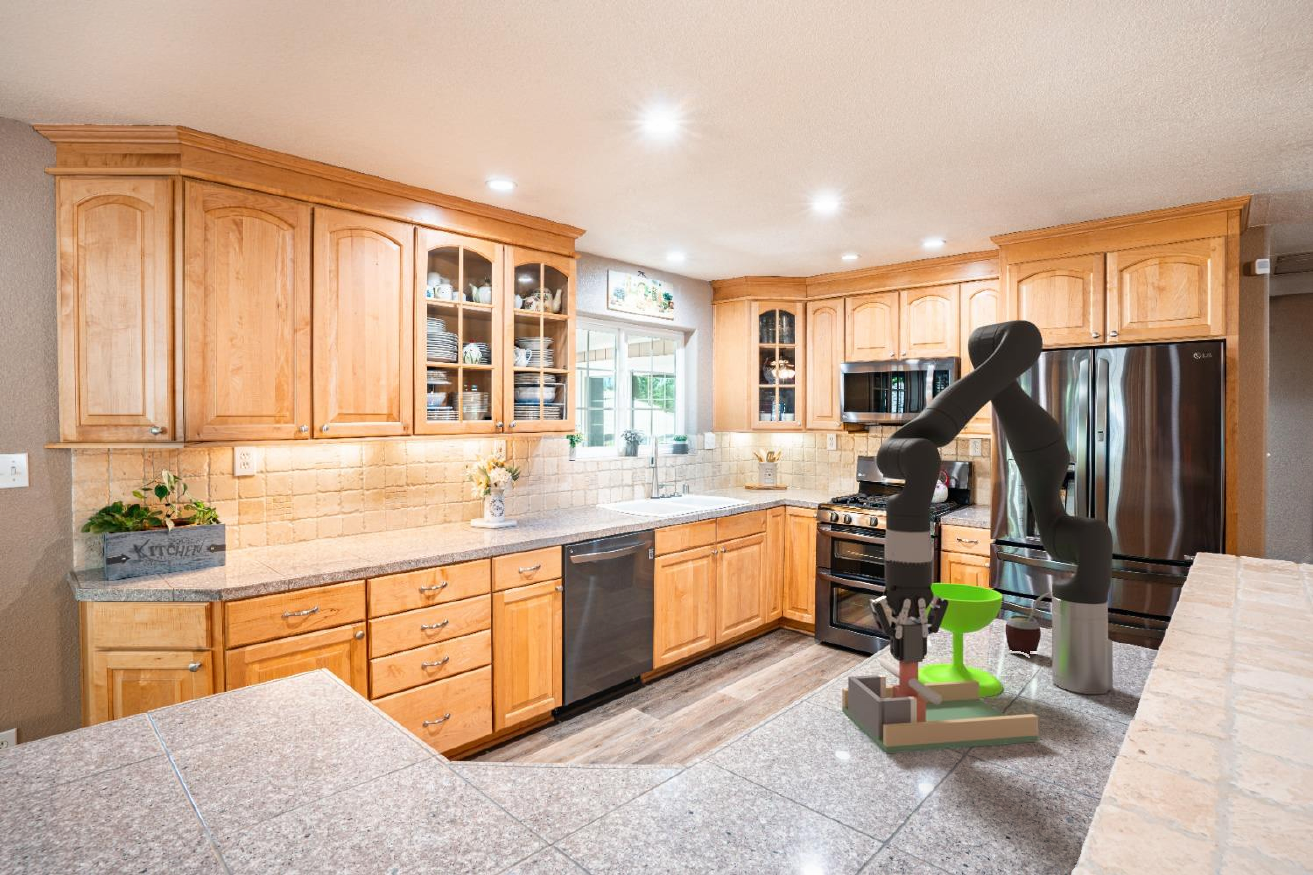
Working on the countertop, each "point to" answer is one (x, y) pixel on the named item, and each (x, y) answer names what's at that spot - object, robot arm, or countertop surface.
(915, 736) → the pitch
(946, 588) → the wineglass
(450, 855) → the countertop surface
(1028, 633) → the mate gourd
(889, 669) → the striker
